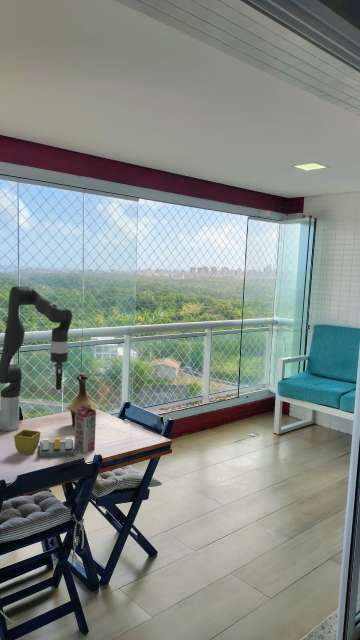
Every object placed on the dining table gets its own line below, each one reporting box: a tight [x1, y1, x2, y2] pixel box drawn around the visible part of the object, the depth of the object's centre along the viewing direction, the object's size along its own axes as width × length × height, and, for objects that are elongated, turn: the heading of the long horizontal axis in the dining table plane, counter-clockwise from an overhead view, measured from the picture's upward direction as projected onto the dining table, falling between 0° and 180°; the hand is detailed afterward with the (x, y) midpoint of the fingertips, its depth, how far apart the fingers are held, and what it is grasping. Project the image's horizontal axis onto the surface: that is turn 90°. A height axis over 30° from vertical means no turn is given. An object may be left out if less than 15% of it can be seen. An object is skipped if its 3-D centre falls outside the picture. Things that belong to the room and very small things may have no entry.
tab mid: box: [53, 437, 61, 449], centre depth 221 cm, size 3×2×4 cm
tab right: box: [65, 437, 73, 449], centre depth 222 cm, size 3×2×4 cm
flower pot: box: [13, 429, 42, 456], centre depth 220 cm, size 9×9×9 cm
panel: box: [39, 439, 75, 459], centre depth 225 cm, size 15×16×2 cm
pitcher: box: [66, 372, 100, 428], centre depth 262 cm, size 18×17×28 cm
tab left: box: [42, 437, 50, 450], centre depth 220 cm, size 3×2×4 cm
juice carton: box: [73, 402, 97, 454], centre depth 226 cm, size 7×7×22 cm
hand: (58, 388), depth 222 cm, fingers open, 4 cm apart
